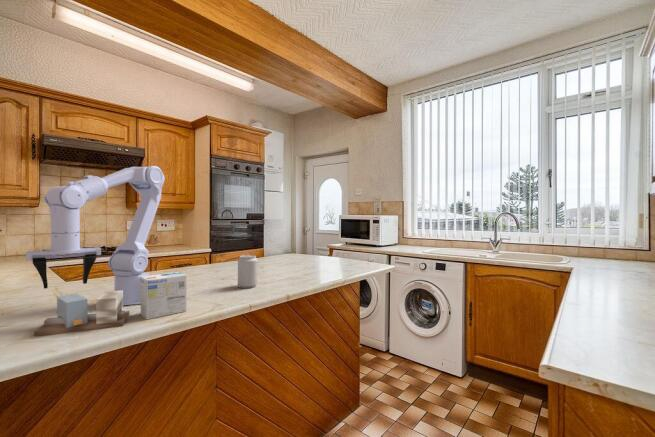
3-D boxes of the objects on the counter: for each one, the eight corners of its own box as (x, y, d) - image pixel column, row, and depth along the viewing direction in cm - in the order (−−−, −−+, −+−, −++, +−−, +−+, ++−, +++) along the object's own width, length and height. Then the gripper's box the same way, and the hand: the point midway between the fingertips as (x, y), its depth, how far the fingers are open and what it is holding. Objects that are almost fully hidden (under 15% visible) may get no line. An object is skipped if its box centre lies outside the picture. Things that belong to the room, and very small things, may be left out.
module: (77, 316, 80) (76, 293, 80) (88, 323, 75) (88, 299, 75) (57, 320, 77) (57, 296, 77) (67, 328, 72) (67, 303, 71)
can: (234, 288, 116) (234, 256, 115) (242, 283, 123) (243, 253, 123) (252, 289, 114) (253, 257, 114) (260, 284, 122) (260, 254, 121)
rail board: (129, 314, 85) (129, 289, 85) (122, 325, 76) (122, 298, 76) (51, 322, 78) (51, 295, 78) (34, 335, 70) (34, 305, 69)
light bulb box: (179, 306, 93) (179, 270, 93) (187, 311, 88) (187, 274, 88) (139, 314, 85) (139, 275, 85) (145, 320, 81) (145, 279, 80)
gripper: (98, 230, 86) (98, 278, 87) (26, 232, 77) (27, 286, 77) (102, 232, 81) (102, 283, 82) (25, 234, 71) (26, 292, 72)
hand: (65, 285), depth 79 cm, fingers open, 7 cm apart
